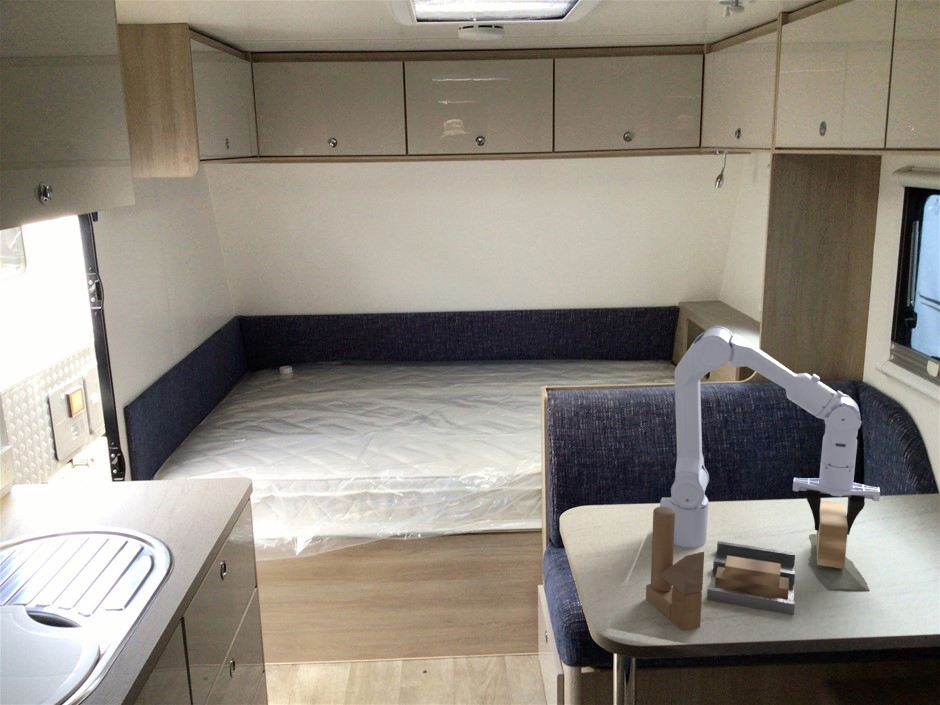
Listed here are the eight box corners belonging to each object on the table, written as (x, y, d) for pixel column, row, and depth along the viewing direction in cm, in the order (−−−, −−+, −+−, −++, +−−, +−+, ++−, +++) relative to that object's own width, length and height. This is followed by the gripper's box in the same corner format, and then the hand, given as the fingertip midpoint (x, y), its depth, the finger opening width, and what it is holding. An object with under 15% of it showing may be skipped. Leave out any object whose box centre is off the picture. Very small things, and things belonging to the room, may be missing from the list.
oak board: (815, 538, 156) (819, 500, 154) (841, 541, 154) (844, 503, 153) (817, 564, 145) (820, 524, 144) (844, 568, 144) (848, 527, 142)
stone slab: (822, 604, 140) (880, 596, 139) (821, 590, 139) (879, 582, 139) (778, 545, 162) (827, 539, 161) (777, 533, 161) (826, 526, 160)
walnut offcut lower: (714, 589, 140) (715, 577, 140) (717, 579, 144) (717, 566, 143) (787, 602, 136) (788, 589, 135) (787, 590, 140) (788, 578, 139)
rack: (706, 603, 138) (707, 589, 137) (717, 554, 155) (717, 541, 154) (793, 619, 132) (794, 604, 132) (794, 566, 149) (795, 552, 149)
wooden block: (682, 635, 129) (687, 534, 124) (644, 603, 138) (648, 507, 134) (701, 630, 130) (706, 529, 126) (662, 598, 140) (666, 504, 135)
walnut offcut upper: (724, 578, 139) (725, 565, 139) (726, 568, 143) (727, 555, 142) (779, 587, 136) (780, 574, 135) (779, 576, 140) (780, 563, 139)
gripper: (795, 465, 144) (789, 533, 147) (884, 475, 139) (876, 545, 142) (795, 452, 151) (790, 517, 154) (880, 461, 145) (873, 529, 148)
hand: (831, 530), depth 148 cm, fingers closed on oak board, 4 cm apart
